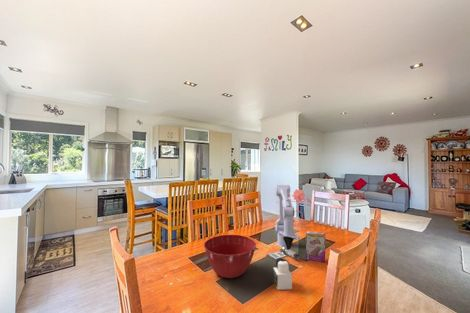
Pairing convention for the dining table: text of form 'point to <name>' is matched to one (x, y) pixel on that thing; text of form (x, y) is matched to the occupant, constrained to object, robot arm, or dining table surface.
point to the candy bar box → (315, 246)
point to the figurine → (298, 196)
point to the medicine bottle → (282, 275)
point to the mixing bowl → (229, 254)
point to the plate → (274, 258)
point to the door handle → (290, 252)
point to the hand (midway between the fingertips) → (288, 249)
